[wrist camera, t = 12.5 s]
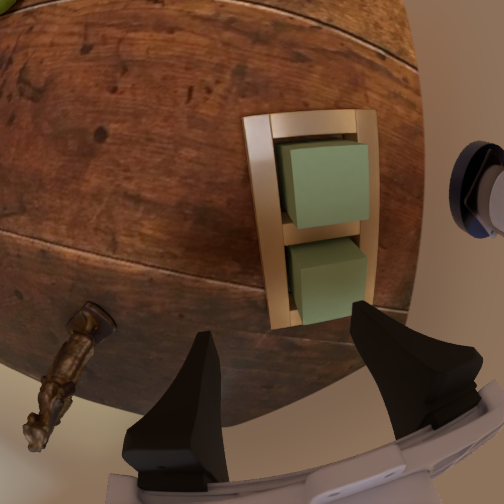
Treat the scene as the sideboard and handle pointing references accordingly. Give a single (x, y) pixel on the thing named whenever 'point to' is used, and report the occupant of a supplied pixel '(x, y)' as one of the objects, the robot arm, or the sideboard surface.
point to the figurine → (66, 372)
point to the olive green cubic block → (326, 278)
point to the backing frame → (279, 223)
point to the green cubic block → (324, 181)
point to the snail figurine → (6, 5)
